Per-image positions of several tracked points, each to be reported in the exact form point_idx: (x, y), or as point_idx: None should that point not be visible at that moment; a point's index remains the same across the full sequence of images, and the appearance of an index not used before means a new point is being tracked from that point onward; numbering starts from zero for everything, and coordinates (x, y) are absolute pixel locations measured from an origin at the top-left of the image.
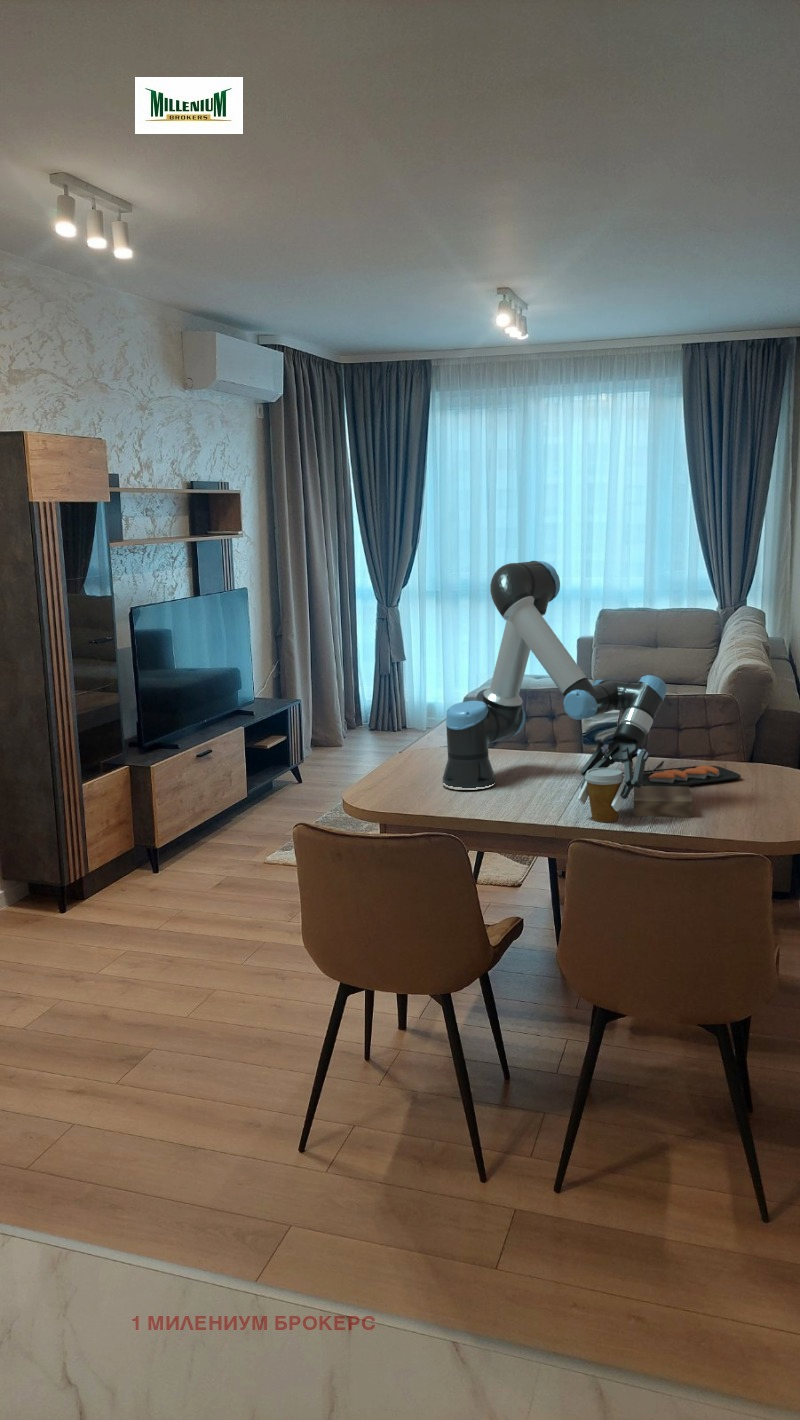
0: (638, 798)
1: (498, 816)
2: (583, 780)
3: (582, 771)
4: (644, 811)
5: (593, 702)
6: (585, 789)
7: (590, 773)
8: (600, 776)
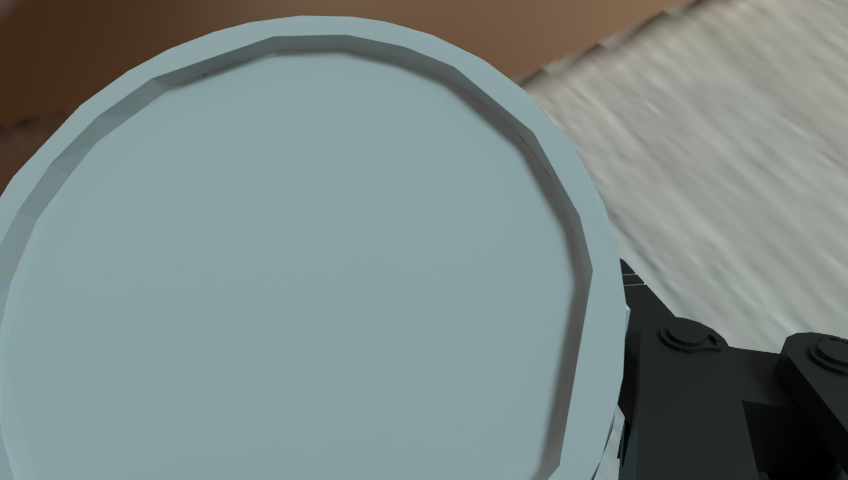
0: None
1: (824, 22)
2: (663, 304)
3: (818, 345)
4: None
5: None
6: None
7: (473, 140)
8: (195, 44)
